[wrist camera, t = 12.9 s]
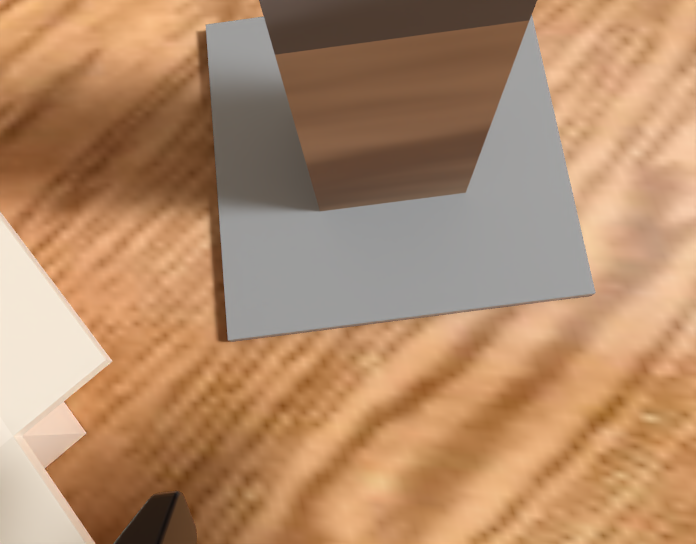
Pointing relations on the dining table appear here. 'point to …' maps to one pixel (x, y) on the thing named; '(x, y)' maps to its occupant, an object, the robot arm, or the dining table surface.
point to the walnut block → (393, 90)
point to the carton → (38, 396)
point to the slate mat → (383, 212)
